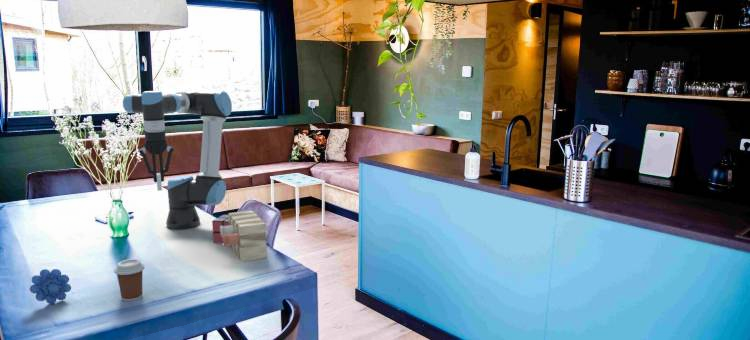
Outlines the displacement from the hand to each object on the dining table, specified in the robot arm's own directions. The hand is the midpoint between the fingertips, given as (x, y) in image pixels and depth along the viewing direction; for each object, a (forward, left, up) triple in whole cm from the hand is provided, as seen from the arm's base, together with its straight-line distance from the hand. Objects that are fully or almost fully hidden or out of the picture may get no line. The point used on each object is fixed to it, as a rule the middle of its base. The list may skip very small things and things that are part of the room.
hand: (159, 189), depth 220 cm
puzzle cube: (-5, +27, -27) cm, 38 cm away
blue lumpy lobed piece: (+36, -37, -27) cm, 58 cm away
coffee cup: (+41, -14, -27) cm, 51 cm away
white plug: (+7, +29, -21) cm, 36 cm away
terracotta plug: (+19, +27, -21) cm, 39 cm away
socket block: (+13, +31, -26) cm, 43 cm away
